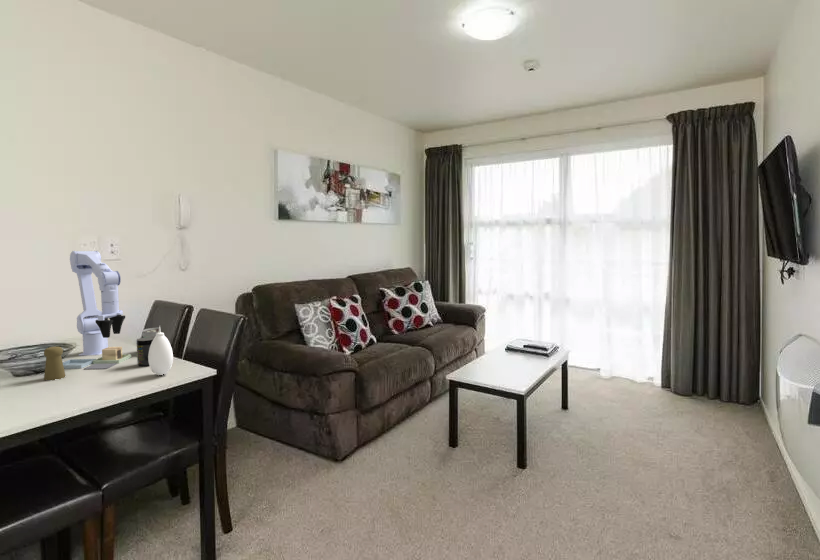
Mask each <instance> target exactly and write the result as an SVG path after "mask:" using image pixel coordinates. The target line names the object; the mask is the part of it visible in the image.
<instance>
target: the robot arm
mask: <svg viewBox="0 0 820 560" xmlns="http://www.w3.org/2000/svg"><path fill="white" fill-rule="evenodd" d="M69 262H70V269H71V271H72V272H73V273H75V274H76V276H77V280H78V286H79V291H80V297H81V302H82V303H81V304H82V308H83V311H82V312H80V313H79V314H78V315H77V317H76V329H77V332H78V333H79V334H81V335H82V350H83V351H82V352H81V353H79V354H78V356H80V357H81V356H83V357H84V356H100V355H102V349H105V348H107V347H109V338H110V336H111V329H112V333H113V334H114V335H117V334H118V335H119V334H121V331H122V326H123V323H124V321H125V319H126V315H124V311H123V309H120V299H119V286H120V284H121V281H122V280H121V274H120V272H119V271H118V270H112V269H111V268H110V267H109V265H108V264H107V263H105V262H102V254H101V253H100V252H99V251H98V250H86V251H85V250H80V251H79V250H72V251H71V253H70V254H69ZM92 274H94V275H95V277H96V278H97V284H98V288H99V291H100V294H101V295H100V297H101V298H100V299H101V301H100V302H101V310H100V309H98V306H97V300H96V295H95V288H94V283H93V276H92Z"/></svg>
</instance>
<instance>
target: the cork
mask: <svg viewBox="0 0 820 560" xmlns="http://www.w3.org/2000/svg"><path fill="white" fill-rule="evenodd" d="M63 353H64V350H63V348H62V347H61V346H49V347H46V348H45V349H44V351H43V355H44V356H45V365H44V374H43V381H46V380H52V381H56V380H55V379H59V380H61V378H63V379H65V378H66V377H65V376H66V372H65V369H64V366H63V362H64V361H63V358H62V355H63ZM64 377H65V378H64Z"/></svg>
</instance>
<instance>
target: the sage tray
mask: <svg viewBox="0 0 820 560" xmlns="http://www.w3.org/2000/svg"><path fill="white" fill-rule="evenodd" d="M122 356H123V358H121V359H119V360H102V356H101V357H99V358H95V359H96V360H94V361H93V364H110V363H117V364H121V363H123V362H125V361H127V360H128V359H131V358H132V354H131V353H130V354H122ZM93 364H92V365H93Z"/></svg>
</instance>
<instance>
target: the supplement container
mask: <svg viewBox="0 0 820 560" xmlns="http://www.w3.org/2000/svg"><path fill="white" fill-rule="evenodd" d="M154 338H155V337H146V338H144V337H140V338H136V360H137V361H136V364H137V367H141V368H146V367H147V368H148V367H150V366H149V361H148V354H149V349H150V346H151V343H152V341H153V339H154Z"/></svg>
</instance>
